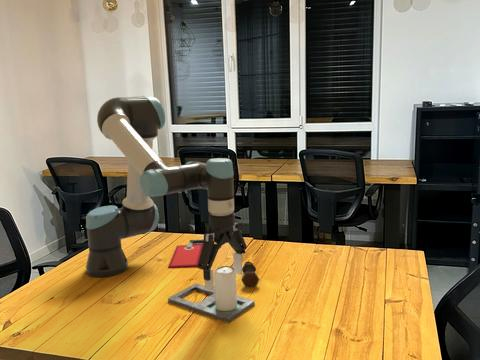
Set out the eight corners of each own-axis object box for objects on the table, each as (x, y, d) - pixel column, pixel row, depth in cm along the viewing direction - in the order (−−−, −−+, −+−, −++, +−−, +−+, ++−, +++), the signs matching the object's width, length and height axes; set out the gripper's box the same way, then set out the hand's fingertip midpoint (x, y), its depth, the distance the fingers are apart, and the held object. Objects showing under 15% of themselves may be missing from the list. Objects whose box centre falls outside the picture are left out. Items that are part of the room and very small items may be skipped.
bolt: (250, 274, 162) (253, 291, 147) (238, 268, 162) (239, 284, 147) (258, 261, 162) (261, 276, 147) (246, 255, 161) (247, 269, 146)
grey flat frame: (168, 301, 139) (167, 298, 139) (196, 286, 149) (195, 283, 149) (228, 322, 125) (228, 318, 125) (254, 304, 135) (254, 300, 135)
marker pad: (207, 310, 133) (207, 309, 133) (223, 299, 139) (223, 299, 139) (228, 317, 128) (228, 316, 128) (244, 306, 134) (244, 305, 134)
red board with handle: (213, 240, 196) (179, 242, 196) (213, 234, 195) (179, 236, 195) (208, 268, 166) (168, 270, 167) (207, 261, 166) (167, 263, 166)
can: (240, 303, 136) (238, 266, 133) (232, 313, 130) (230, 275, 127) (220, 301, 138) (218, 264, 135) (212, 310, 132) (210, 272, 129)
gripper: (202, 225, 116) (206, 300, 120) (256, 204, 135) (258, 269, 140) (181, 221, 120) (186, 294, 124) (237, 201, 140) (239, 265, 144)
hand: (224, 281), depth 132 cm, fingers open, 13 cm apart
